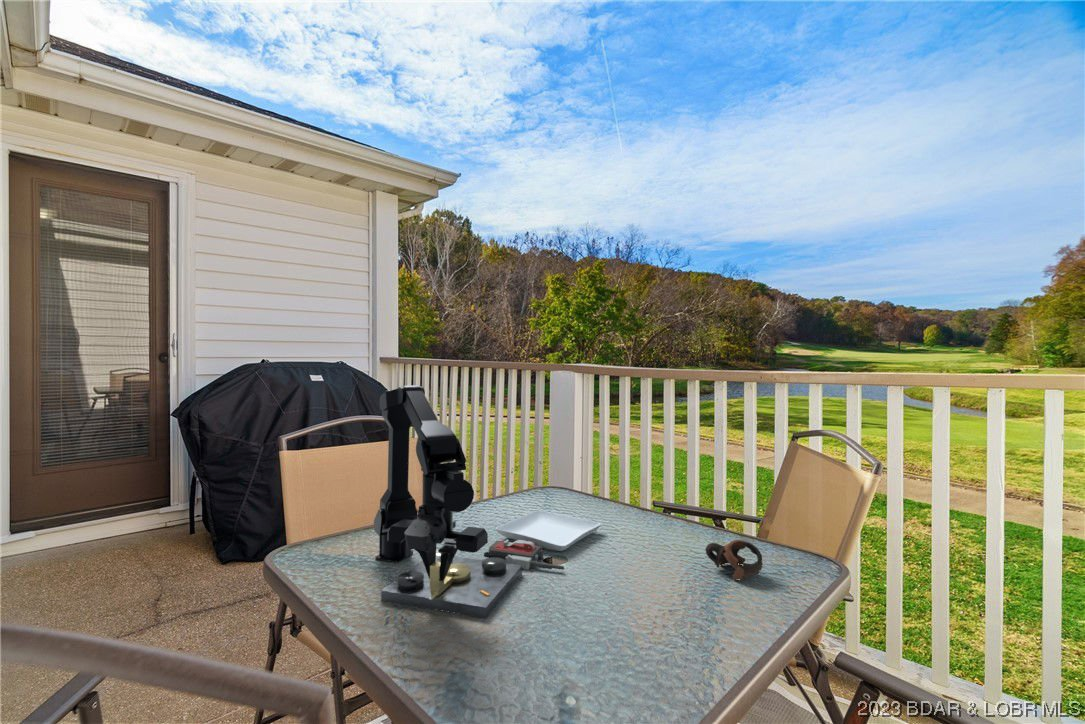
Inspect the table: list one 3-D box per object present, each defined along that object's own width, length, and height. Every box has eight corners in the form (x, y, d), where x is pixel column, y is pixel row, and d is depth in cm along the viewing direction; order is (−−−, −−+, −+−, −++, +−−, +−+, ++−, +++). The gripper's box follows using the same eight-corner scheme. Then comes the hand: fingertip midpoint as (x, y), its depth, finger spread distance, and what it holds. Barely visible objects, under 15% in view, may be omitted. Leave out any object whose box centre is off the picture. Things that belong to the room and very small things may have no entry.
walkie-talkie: (479, 564, 120) (562, 576, 114) (479, 545, 120) (563, 556, 114) (494, 550, 128) (572, 561, 122) (494, 533, 128) (573, 542, 122)
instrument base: (379, 601, 100) (379, 576, 100) (432, 561, 120) (432, 540, 120) (484, 619, 94) (484, 592, 94) (521, 574, 113) (522, 551, 113)
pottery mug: (755, 567, 120) (766, 543, 116) (753, 601, 112) (765, 577, 108) (702, 548, 123) (712, 524, 119) (697, 580, 115) (707, 555, 111)
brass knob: (449, 568, 111) (449, 542, 111) (475, 572, 109) (475, 545, 109) (420, 593, 99) (420, 564, 99) (448, 597, 98) (448, 568, 98)
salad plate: (603, 534, 141) (603, 521, 141) (563, 559, 123) (564, 545, 123) (537, 520, 152) (537, 508, 152) (493, 541, 134) (493, 528, 134)
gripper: (370, 505, 94) (369, 590, 94) (463, 515, 89) (463, 606, 89) (403, 490, 105) (403, 567, 105) (489, 498, 99) (488, 579, 100)
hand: (437, 579), depth 99 cm, fingers closed on brass knob, 2 cm apart
